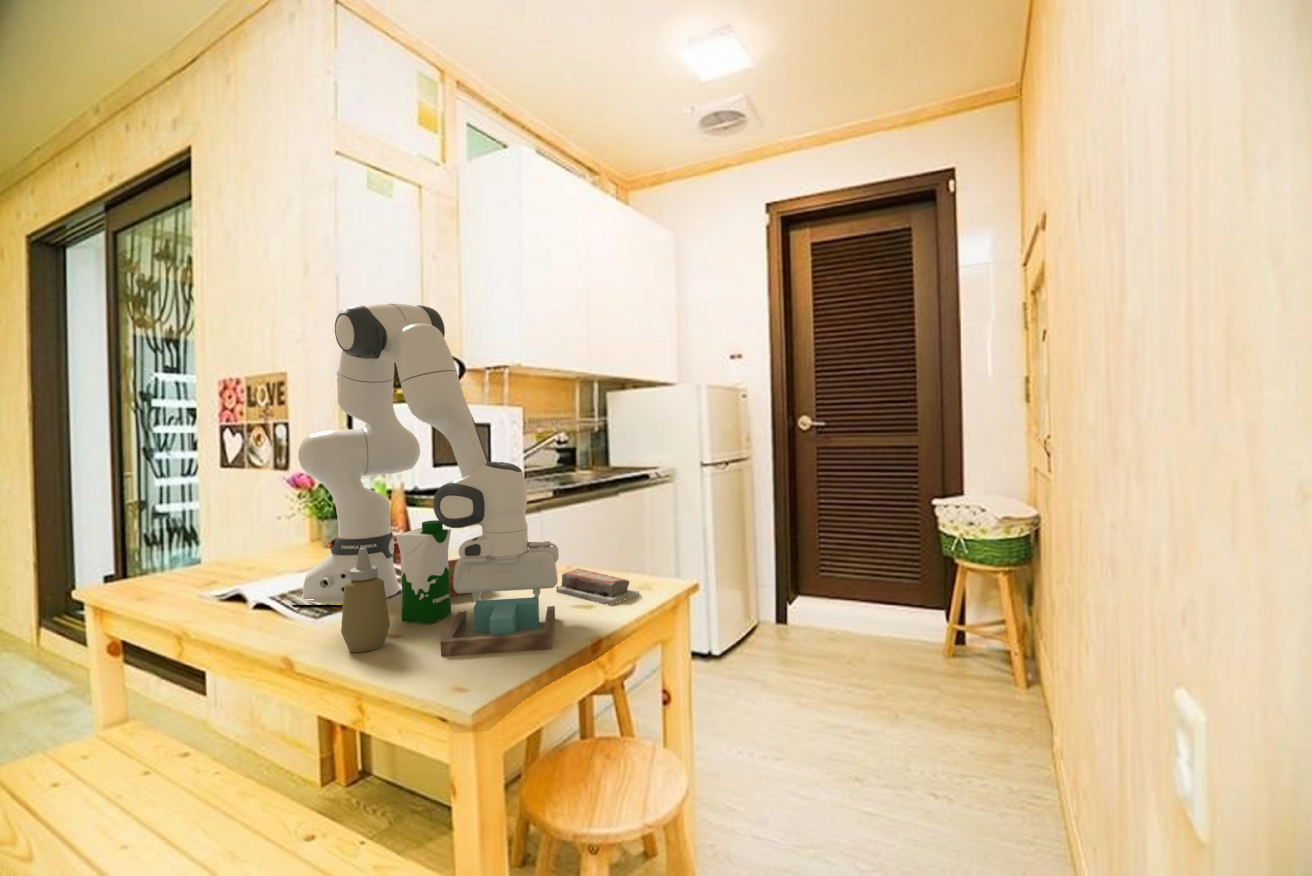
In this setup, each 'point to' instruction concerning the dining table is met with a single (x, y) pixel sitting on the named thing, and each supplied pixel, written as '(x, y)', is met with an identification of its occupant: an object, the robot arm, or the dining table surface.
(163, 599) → the dining table surface
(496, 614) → the teal T block
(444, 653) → the walnut dock
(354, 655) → the dining table surface
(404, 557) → the milk carton
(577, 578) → the packaged product
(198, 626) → the dining table surface
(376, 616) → the squeeze bottle
